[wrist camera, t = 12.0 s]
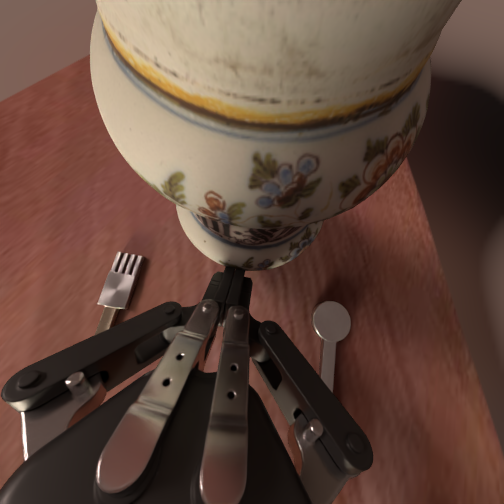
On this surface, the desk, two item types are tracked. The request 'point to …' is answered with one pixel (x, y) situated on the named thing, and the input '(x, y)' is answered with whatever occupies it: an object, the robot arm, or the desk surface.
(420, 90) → the apothecary jar
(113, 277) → the fork
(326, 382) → the spoon
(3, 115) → the desk surface
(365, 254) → the desk surface
